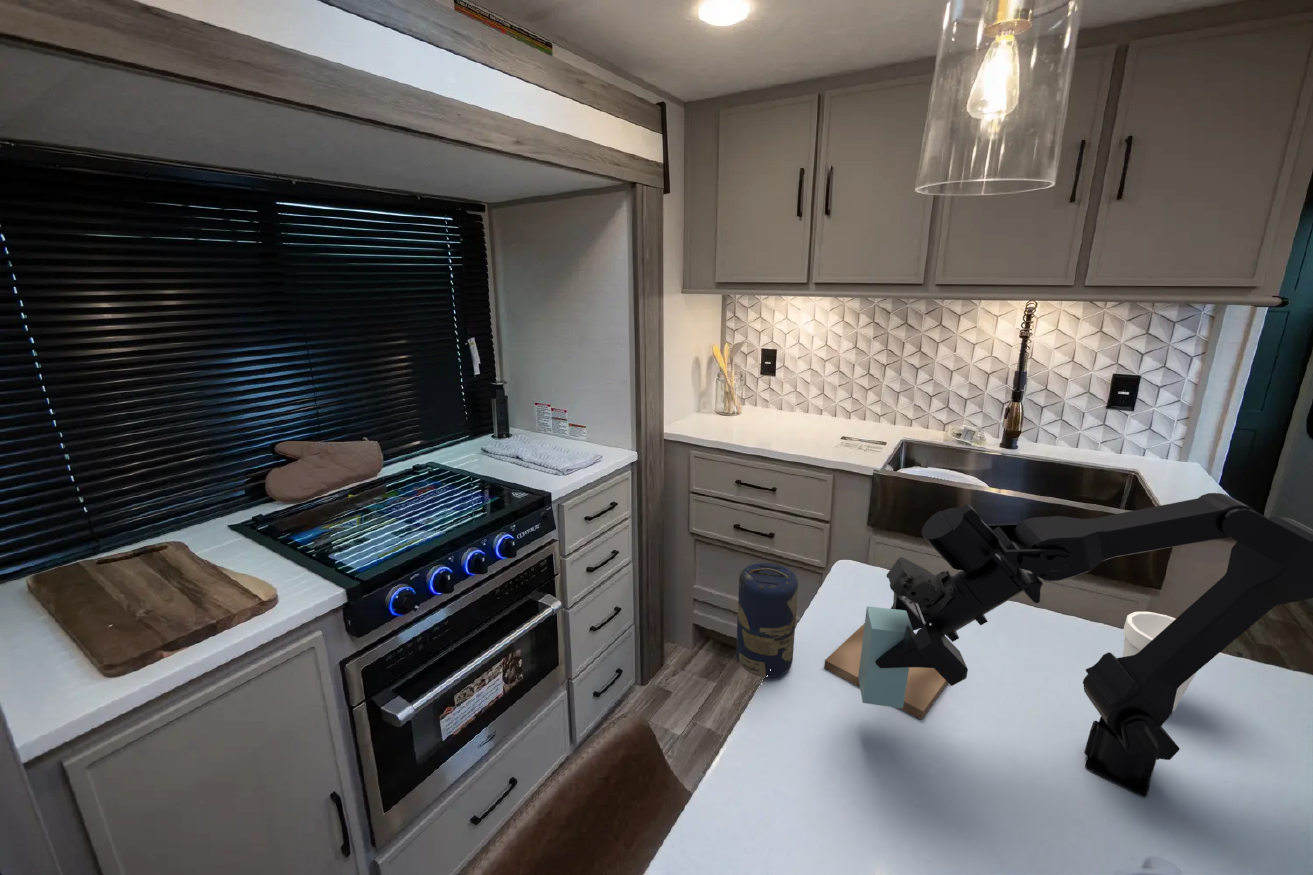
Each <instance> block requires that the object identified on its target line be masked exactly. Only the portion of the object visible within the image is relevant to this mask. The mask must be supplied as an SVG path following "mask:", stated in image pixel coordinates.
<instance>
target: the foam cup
mask: <svg viewBox="0 0 1313 875" xmlns="http://www.w3.org/2000/svg"><path fill="white" fill-rule="evenodd" d="M1175 619H1176V618H1175V617H1173V616H1169V615H1166V614H1162V613H1161V614H1160V613H1158V612H1151V611H1134V612H1132V613H1130V614H1129V613H1128V614H1127V616H1126V619H1125V623H1124V627H1123V636H1124V640H1123V649H1122V650H1123V651H1122V657H1126V656H1132V655H1135V654H1137V653H1138V652H1139V651H1141V650H1142V649H1143V648H1144V647H1145V646H1146V645H1147V644H1148V643H1150V642H1151V641H1152V640H1153V639H1154V638H1155V637H1156V636H1157V635H1158V634H1160V633H1161V632H1162V631H1163V630H1164V629H1165V628H1166V627H1167V626H1169V625H1170V624H1171V623H1172V622H1173V621H1174V620H1175ZM1197 673H1198V671H1197V672H1196V673H1195V674H1193V675H1192V676H1191V677H1190V678H1189V679H1188V680H1186V681H1185V682H1184V683H1183V684H1182V685H1180V686H1179V688H1178V689H1177V692H1176V697H1175V702H1174V706H1173V711H1172V713H1174V711H1175V710H1176V708H1177V706H1178V705H1179V703H1180V702H1181V700H1182V698H1183V696H1184V694H1185V693H1186V691H1187V690H1188V688H1189V686H1190V684H1191V683H1192V681H1193V680H1194V678H1195V676H1196V674H1197Z"/></svg>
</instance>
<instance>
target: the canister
mask: <svg viewBox="0 0 1313 875" xmlns="http://www.w3.org/2000/svg"><path fill="white" fill-rule="evenodd" d="M798 591H799V582H798V578H797V576H796V575H795V573H794V572H793V571H792V570H791V569H789V568H788V567H786V566H784V565H781V564H779V563H778V564H777V563H772V562H758V563H754V564H750V565H748V566H746V567H745V568H744V569H743V570H741V572H740V573H739V576H738V598H737V599H738V600H737V601H738V602H737V603H738V604H737V618H736V619H737V620H736V651H735V652H736V659H737V661H738V663H739V665H740V666H741V668H742V669H744V670H745V671H746V672H748V673H750V674H752V675H753V676H757V677H761V678H775V677H779V676H781V675H784V674H785V673H787V671H789V670H790V669H791V667H792V665H793V660H794V649H795V648H794V647H795V634H796V633H795V631H796V624H797V609H798V593H799V592H798ZM770 669H771V671H770ZM767 675H768V677H766V676H767Z"/></svg>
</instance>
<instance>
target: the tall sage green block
mask: <svg viewBox="0 0 1313 875" xmlns="http://www.w3.org/2000/svg"><path fill="white" fill-rule="evenodd" d="M864 623H865V625H864V633H863V642H862V650H861V658H860V666H859V674H858V679H859V684H860V687H859V688H860V695H861V701H862V704H869V705H875V706H884V707H889V708H890V707H891V708H896V709H900V708H902V709H903V704H904V698H905V691H906V685H907V678H908V672H909V667H904V668H879V667H878V666H877V665H876V662H875V661H876V660H877V659H878V658H879V657H880V656H882V655H883V654H884V653H885V652H887V651H888V650H890V649H891V648H892V647H894V646H895V645H896V644H898V643H899V642H900V641H902V640H903V639H904V636H905V630H906V626H907V625H908V627H909V628H910V629H911V630H912V631H913V628H912V626H911V623H910V620H909V617H908V614H907V611H905V610H897V609H891V608H886V607H880V606H879V607H877V606H870V605H869V606H868V605H867V606H866V609H865V618H864ZM914 631H915V630H914ZM914 631H913V632H914ZM914 633H915V632H914ZM902 709H901V710H902Z"/></svg>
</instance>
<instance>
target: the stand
mask: <svg viewBox="0 0 1313 875" xmlns="http://www.w3.org/2000/svg"><path fill="white" fill-rule="evenodd" d="M864 625H865V622H863V623H862V625H860V626H859V628H858V629H857V630H855V632H853V633H852V634H851V635H850V636H849V637H848V638H847V639H845V641H844V642H843V643H842V644H840V645H839V646H838V647H837V648H836V649H834V651H833V652H832V653H831V654H830V655H829V656H828V657H827V658H826V659H824V664H823V665H824V667H823V668H824V669H825V670H826V671H829V672H831V673H832V674H834V675H835V676H838V677H840V678H842V679H844V680H846V681H847V682H849V683H851V684H853V685H855V686H857V687H858V688H860V684H859V679H858V674H859V666H860V658H861V650H862V642H863V633H864ZM948 684H949V683H948V682H947V681H946V680H945V679H944V678H943V677H942V676H941V675H940V674H939V673H938V672H937V671H936V670H935V669H934V668H920V667H909V672H908V678H907V685H906V691H905V698H904V704H903V709H902V708H899V709H900V710H902V711H904V712H906V713H907V714H909V715H912V716H913V717H915V718H917V719H919V720H921V721H923V719H924V718H925V716H926V715H927V714H928V712H929V710H930V709H931V708H932V706H933V705H934V704H935V702H936V700H937V699H938V698H939V696H940V695H941V694H942V692H943V691H944V689H945V688H946V687H947V686H948Z"/></svg>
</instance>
